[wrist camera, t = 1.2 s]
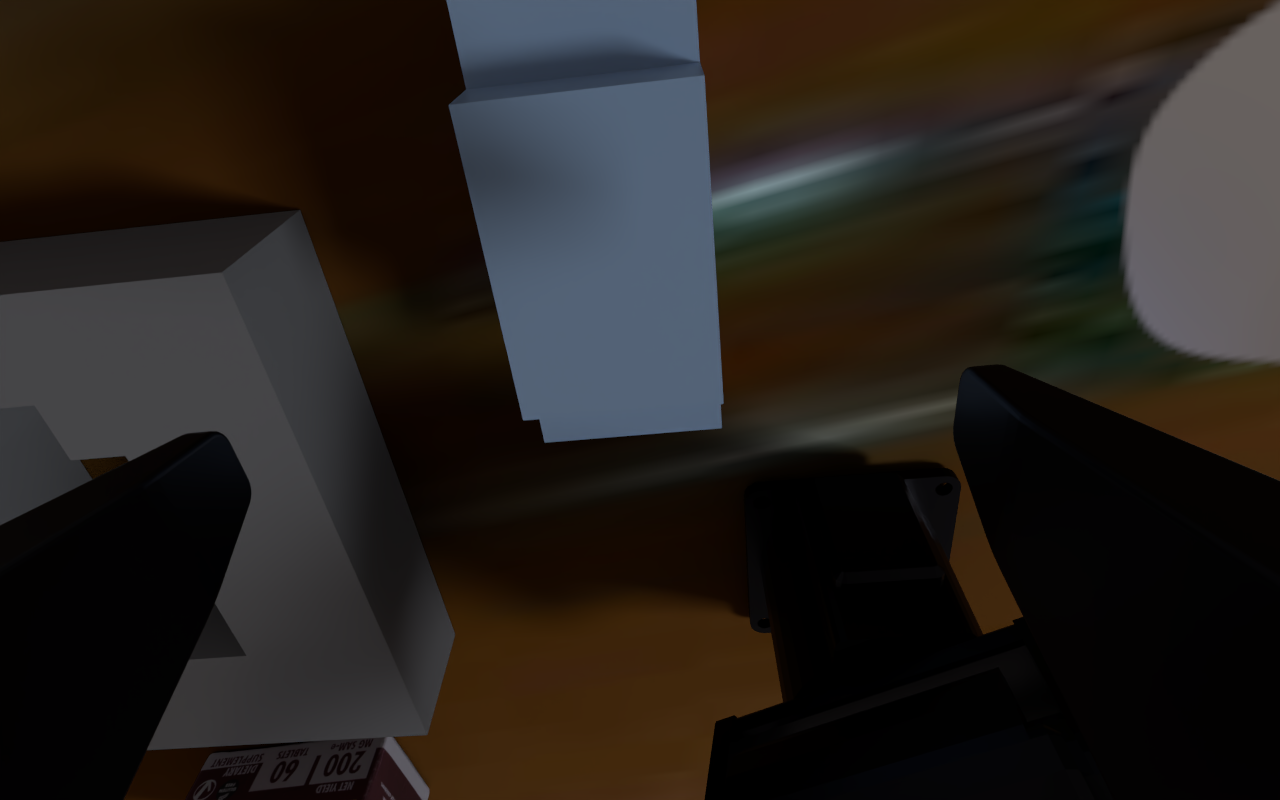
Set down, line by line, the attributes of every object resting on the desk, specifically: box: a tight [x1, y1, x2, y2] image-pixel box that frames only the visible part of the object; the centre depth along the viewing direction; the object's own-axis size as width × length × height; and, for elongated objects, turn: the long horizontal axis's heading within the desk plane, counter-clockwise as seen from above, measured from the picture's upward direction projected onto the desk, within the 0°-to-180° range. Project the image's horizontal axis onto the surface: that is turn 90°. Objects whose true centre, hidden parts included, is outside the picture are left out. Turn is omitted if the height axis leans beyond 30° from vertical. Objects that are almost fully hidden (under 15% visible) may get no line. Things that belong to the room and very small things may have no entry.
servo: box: [446, 0, 724, 443], centre depth 15 cm, size 9×4×6 cm, turn 6°
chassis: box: [0, 210, 455, 750], centre depth 22 cm, size 16×14×4 cm
